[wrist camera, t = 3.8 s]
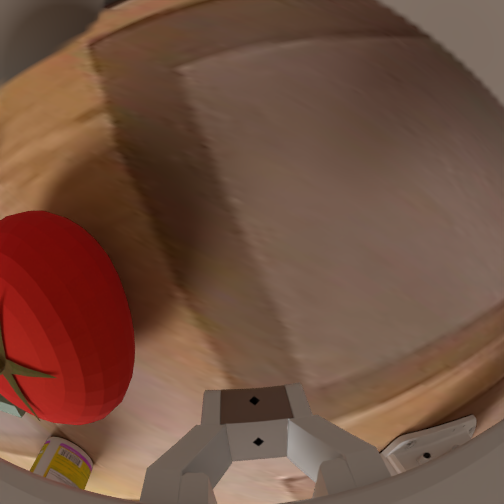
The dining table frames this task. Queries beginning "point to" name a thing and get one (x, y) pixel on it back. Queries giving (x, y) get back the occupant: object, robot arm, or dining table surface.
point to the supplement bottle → (63, 463)
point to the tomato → (61, 321)
